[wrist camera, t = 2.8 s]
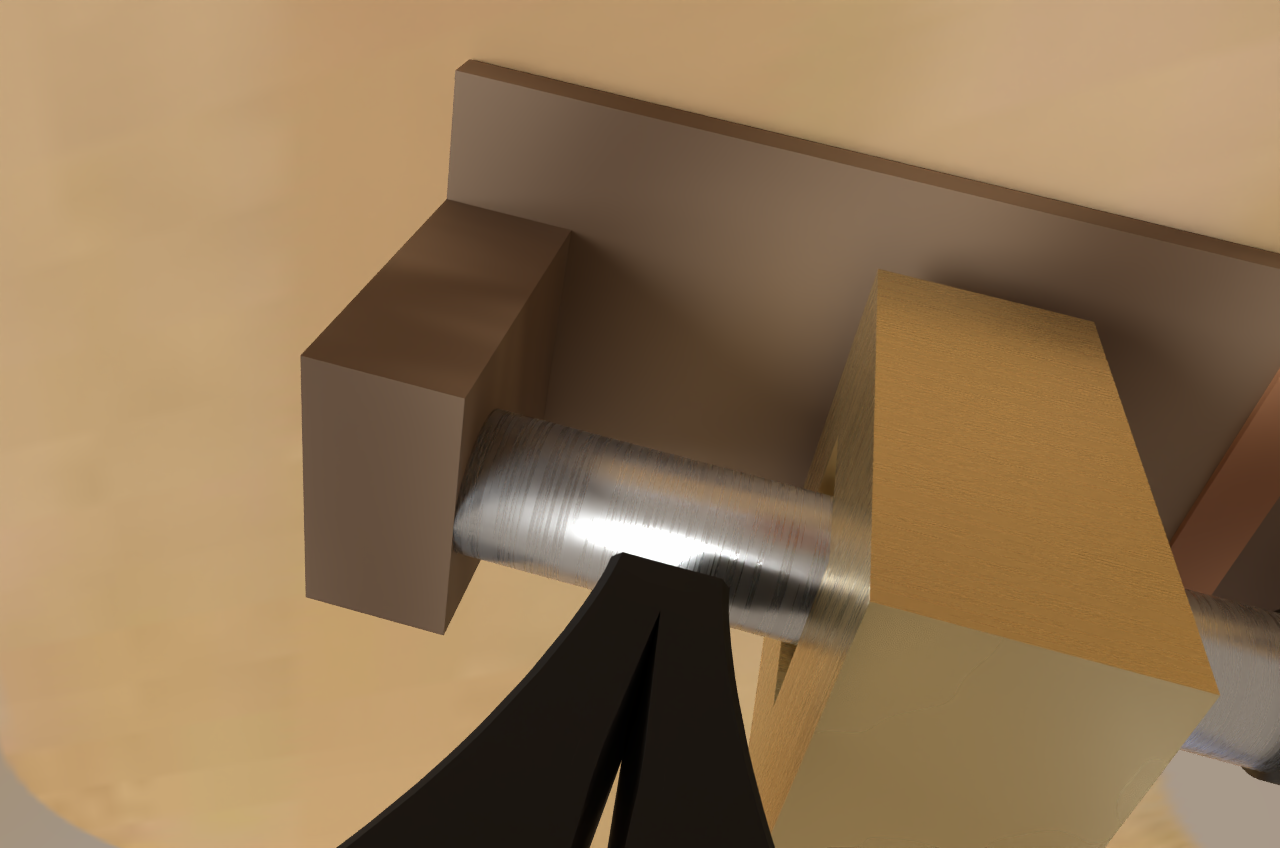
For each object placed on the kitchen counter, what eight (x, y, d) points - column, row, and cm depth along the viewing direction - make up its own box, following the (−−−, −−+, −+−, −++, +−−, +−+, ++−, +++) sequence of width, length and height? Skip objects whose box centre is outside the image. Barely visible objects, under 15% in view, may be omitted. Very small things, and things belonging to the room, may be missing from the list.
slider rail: (1723, 360, 14) (2102, 651, 10) (1383, 728, 19) (1536, 1039, 14) (469, 58, 15) (296, 195, 11) (437, 474, 20) (307, 691, 16)
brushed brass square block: (1093, 321, 14) (1221, 694, 9) (944, 624, 18) (968, 1026, 12) (877, 268, 14) (869, 601, 9) (771, 578, 18) (719, 954, 12)
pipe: (1720, 685, 13) (1850, 835, 11) (1599, 789, 14) (1698, 939, 13) (371, 335, 14) (297, 422, 13) (369, 459, 16) (301, 554, 14)
